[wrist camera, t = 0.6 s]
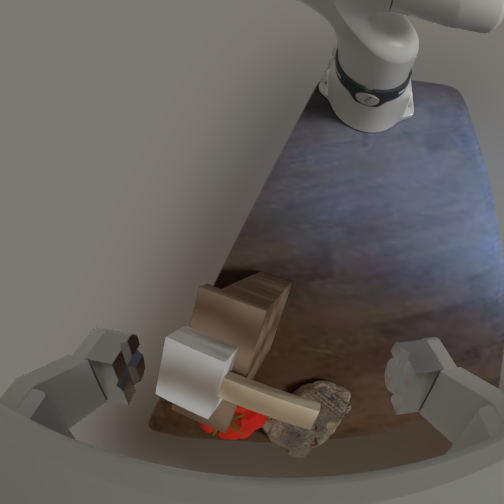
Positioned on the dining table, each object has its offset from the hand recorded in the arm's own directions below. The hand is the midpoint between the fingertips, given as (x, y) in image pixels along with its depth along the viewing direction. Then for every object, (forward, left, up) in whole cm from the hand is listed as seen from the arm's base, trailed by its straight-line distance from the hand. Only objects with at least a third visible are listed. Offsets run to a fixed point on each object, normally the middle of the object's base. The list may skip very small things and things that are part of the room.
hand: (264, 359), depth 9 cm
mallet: (+12, -3, -18) cm, 22 cm away
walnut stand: (+12, -6, -44) cm, 46 cm away
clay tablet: (+30, +9, -45) cm, 55 cm away
